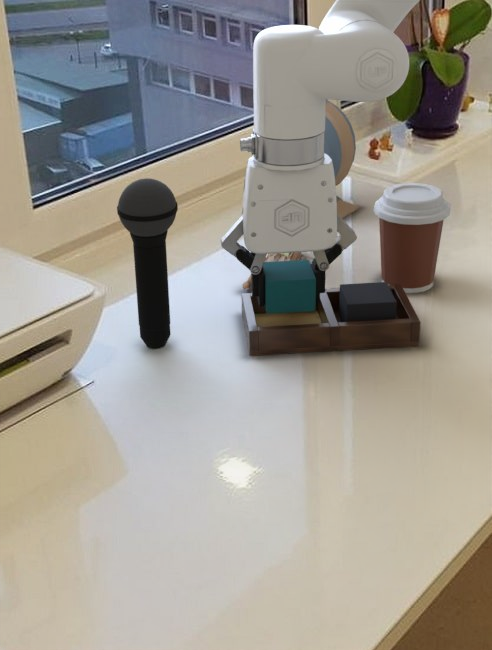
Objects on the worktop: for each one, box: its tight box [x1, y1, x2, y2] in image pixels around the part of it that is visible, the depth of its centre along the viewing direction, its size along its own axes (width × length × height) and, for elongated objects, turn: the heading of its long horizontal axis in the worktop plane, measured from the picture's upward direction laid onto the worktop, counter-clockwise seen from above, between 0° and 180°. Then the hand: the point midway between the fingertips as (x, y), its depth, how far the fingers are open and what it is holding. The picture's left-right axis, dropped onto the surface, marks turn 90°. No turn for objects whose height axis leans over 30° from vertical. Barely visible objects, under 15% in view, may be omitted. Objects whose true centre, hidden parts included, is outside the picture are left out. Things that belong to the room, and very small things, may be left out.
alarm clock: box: [324, 99, 360, 219], centre depth 154 cm, size 14×10×18 cm
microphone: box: [116, 177, 179, 350], centre depth 119 cm, size 7×7×20 cm
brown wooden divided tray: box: [240, 284, 421, 356], centre depth 124 cm, size 19×10×3 cm, turn 90°
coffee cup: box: [373, 182, 451, 294], centre depth 132 cm, size 9×9×12 cm
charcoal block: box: [339, 281, 397, 322], centre depth 123 cm, size 6×6×4 cm
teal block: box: [263, 259, 316, 314], centre depth 122 cm, size 6×6×4 cm
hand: (287, 298), depth 122 cm, fingers closed on teal block, 5 cm apart
